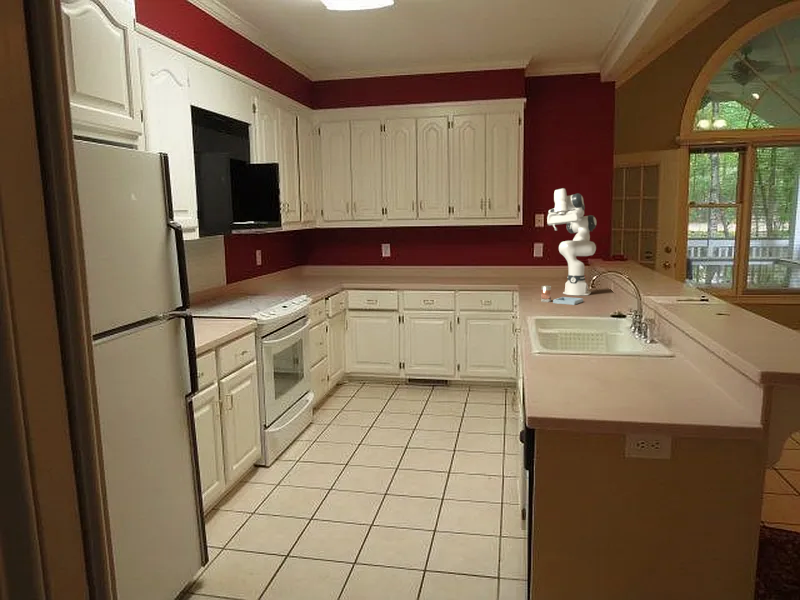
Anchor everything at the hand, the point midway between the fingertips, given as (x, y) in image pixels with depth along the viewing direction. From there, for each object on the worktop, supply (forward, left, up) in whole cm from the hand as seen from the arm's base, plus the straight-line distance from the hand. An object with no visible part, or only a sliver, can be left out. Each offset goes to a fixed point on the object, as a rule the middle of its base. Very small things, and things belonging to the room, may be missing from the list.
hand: (563, 229), depth 395 cm
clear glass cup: (+26, 0, -47) cm, 54 cm away
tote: (+23, +14, -47) cm, 54 cm away
